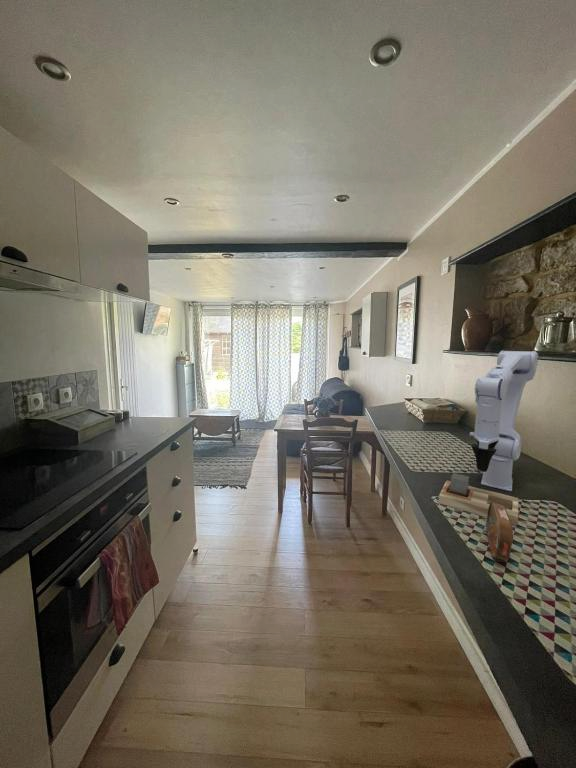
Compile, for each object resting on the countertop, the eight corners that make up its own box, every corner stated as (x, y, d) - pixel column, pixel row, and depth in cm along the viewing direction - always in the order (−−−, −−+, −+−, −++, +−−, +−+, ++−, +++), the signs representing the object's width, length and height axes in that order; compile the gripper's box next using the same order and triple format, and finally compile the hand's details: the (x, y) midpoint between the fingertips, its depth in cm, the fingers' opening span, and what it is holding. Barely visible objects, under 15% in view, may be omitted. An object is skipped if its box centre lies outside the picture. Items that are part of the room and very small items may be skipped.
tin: (485, 525, 76) (487, 494, 75) (500, 529, 75) (503, 497, 73) (493, 565, 63) (497, 529, 62) (511, 571, 61) (516, 533, 60)
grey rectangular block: (452, 494, 91) (453, 473, 90) (467, 499, 89) (469, 476, 87) (449, 500, 88) (450, 478, 87) (465, 505, 85) (466, 481, 84)
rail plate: (446, 487, 95) (446, 479, 95) (517, 506, 84) (518, 497, 84) (438, 503, 86) (439, 494, 86) (517, 526, 76) (518, 516, 75)
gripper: (474, 413, 93) (470, 455, 94) (467, 423, 81) (463, 471, 83) (502, 416, 88) (497, 460, 90) (499, 427, 77) (494, 477, 79)
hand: (483, 466), depth 86 cm, fingers open, 7 cm apart
